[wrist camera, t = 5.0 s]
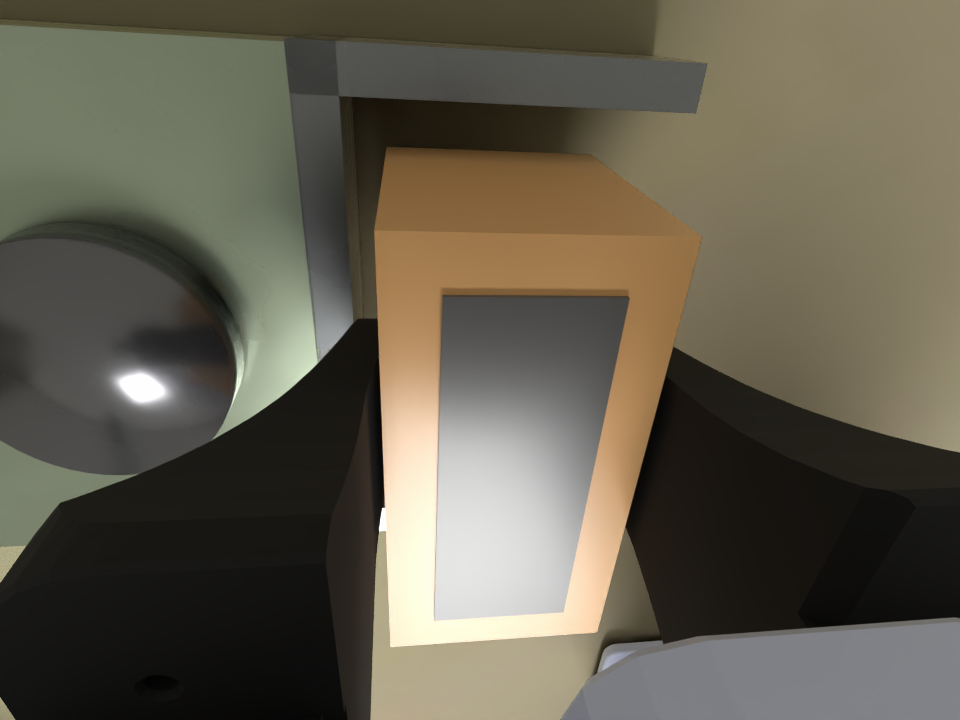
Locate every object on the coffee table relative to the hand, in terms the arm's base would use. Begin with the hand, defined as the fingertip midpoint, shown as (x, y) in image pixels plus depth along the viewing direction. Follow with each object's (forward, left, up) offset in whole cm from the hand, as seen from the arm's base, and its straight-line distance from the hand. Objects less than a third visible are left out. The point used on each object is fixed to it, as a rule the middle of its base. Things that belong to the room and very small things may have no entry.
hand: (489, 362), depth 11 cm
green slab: (+4, 0, -3) cm, 5 cm away
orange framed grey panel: (0, 0, -2) cm, 2 cm away
